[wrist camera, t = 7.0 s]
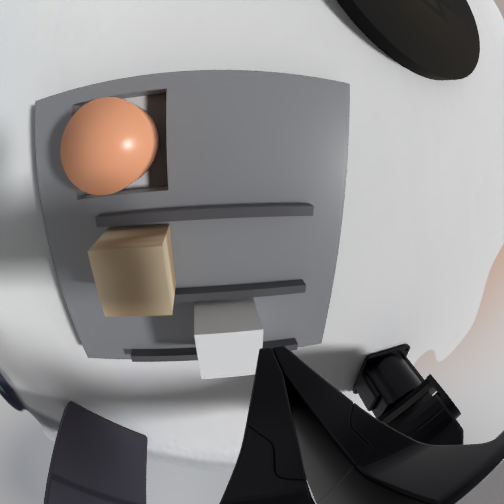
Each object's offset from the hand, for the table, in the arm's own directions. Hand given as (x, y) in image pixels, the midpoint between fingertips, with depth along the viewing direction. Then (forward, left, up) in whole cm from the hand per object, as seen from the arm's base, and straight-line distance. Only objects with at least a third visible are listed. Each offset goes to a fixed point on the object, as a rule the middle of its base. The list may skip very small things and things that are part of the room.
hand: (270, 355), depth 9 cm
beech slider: (+6, 0, -9) cm, 11 cm away
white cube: (+1, +6, -9) cm, 11 cm away
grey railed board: (+3, -1, -11) cm, 11 cm away
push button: (+7, -7, -10) cm, 14 cm away
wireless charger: (-15, -23, -11) cm, 30 cm away
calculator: (+17, +23, -11) cm, 31 cm away
